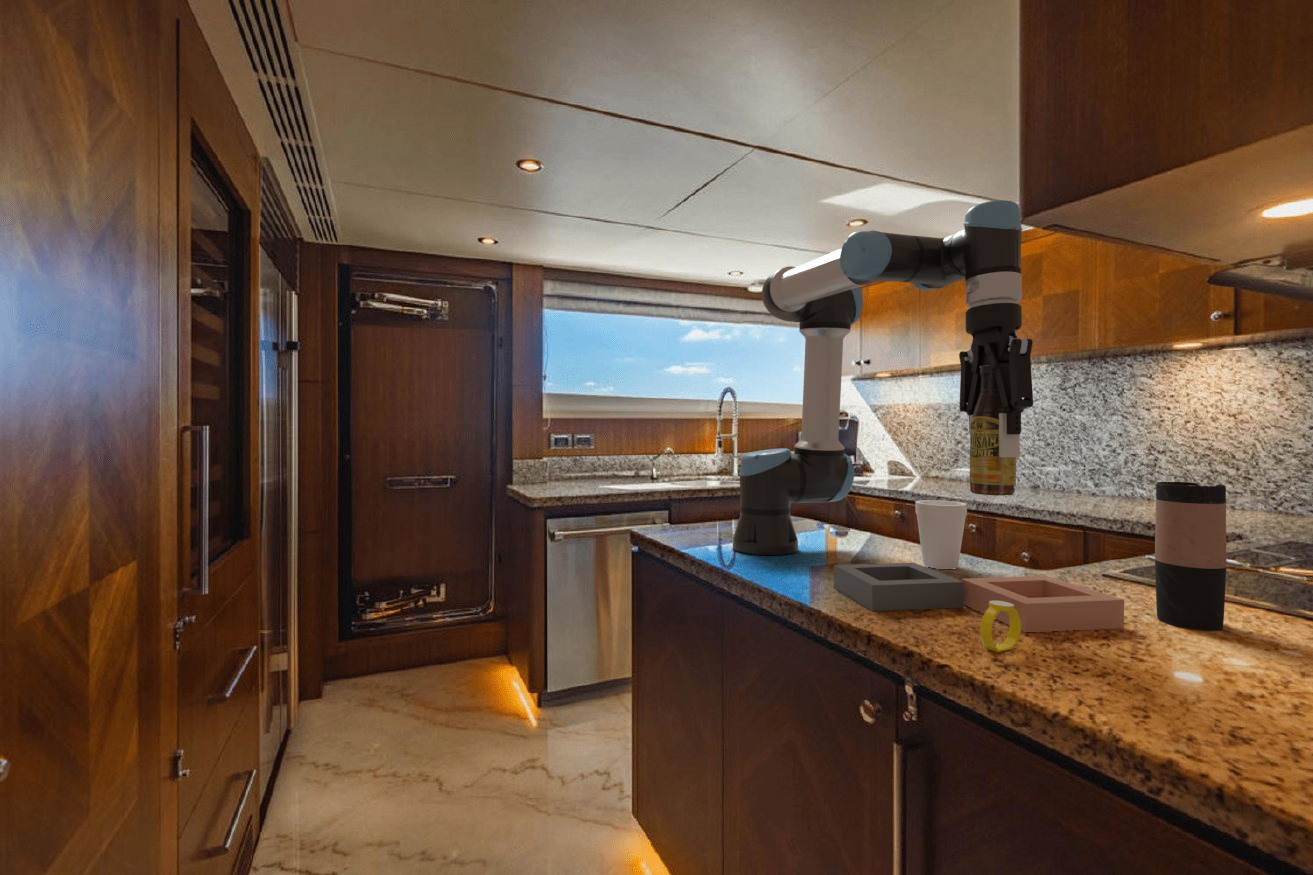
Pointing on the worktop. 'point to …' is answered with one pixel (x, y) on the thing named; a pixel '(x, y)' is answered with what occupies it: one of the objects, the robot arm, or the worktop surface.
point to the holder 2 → (1046, 603)
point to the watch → (989, 620)
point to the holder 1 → (898, 586)
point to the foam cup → (941, 532)
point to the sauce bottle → (989, 443)
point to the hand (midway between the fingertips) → (994, 456)
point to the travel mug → (1190, 554)
